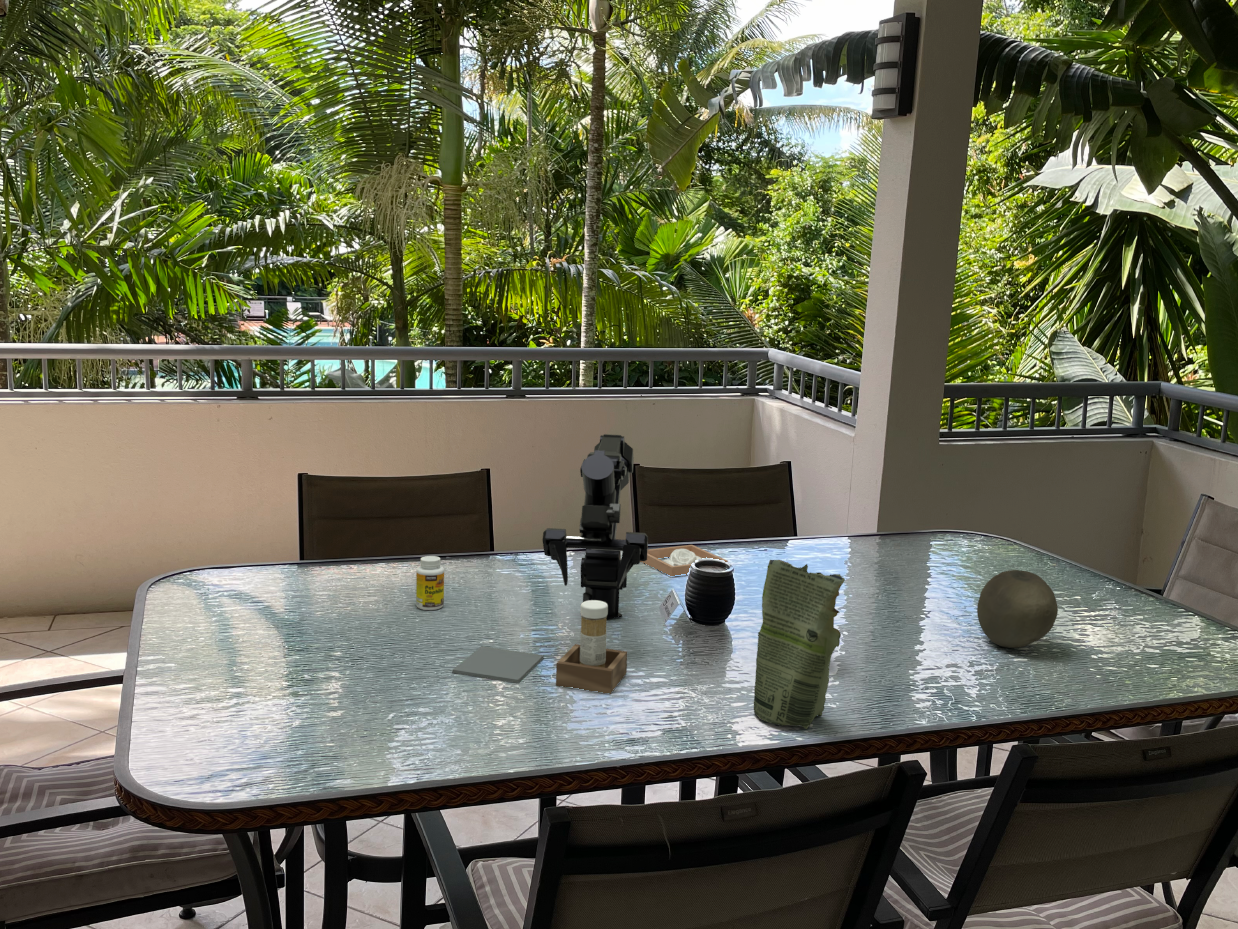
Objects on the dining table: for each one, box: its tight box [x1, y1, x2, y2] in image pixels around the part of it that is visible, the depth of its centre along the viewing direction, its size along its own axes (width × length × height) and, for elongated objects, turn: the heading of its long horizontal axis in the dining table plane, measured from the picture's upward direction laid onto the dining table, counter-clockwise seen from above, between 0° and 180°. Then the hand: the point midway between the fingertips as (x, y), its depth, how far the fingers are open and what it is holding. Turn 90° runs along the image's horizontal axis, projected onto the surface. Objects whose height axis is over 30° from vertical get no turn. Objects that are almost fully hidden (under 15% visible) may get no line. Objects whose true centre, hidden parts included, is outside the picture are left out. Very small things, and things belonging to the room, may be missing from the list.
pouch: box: [753, 559, 846, 730], centre depth 154 cm, size 11×12×25 cm
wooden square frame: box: [640, 544, 729, 576], centre depth 239 cm, size 16×16×2 cm
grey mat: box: [451, 645, 545, 684], centre depth 173 cm, size 12×12×1 cm
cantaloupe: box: [976, 569, 1059, 649], centre depth 190 cm, size 14×14×15 cm
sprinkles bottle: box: [579, 600, 608, 668], centre depth 167 cm, size 5×5×13 cm
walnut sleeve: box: [555, 643, 628, 695], centre depth 168 cm, size 10×10×4 cm
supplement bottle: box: [415, 555, 445, 611], centre depth 201 cm, size 6×6×10 cm
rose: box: [662, 549, 702, 566], centre depth 239 cm, size 10×4×10 cm
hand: (591, 585), depth 174 cm, fingers open, 9 cm apart
